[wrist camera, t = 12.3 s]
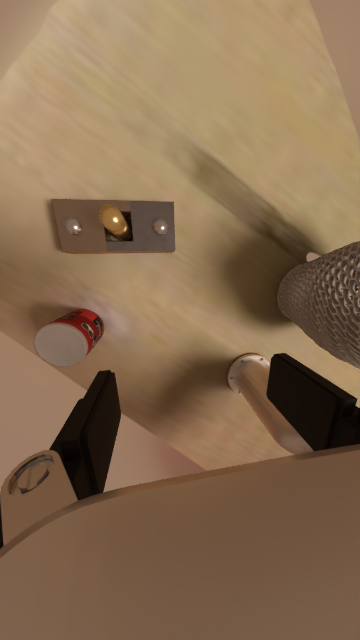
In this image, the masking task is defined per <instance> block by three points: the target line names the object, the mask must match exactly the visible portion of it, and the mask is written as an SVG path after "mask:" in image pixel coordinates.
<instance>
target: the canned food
mask: <svg viewBox="0 0 360 640" xmlns="http://www.w3.org/2000/svg"><path fill="white" fill-rule="evenodd" d="M103 332H104V324H103V321H102V320H101V318H100V317H99V316H98V315H97V314H95V313H94V312H92V311H88V310H76V311H74V312H71V313H69V314H67V315H65V316H63V317H61V318H59V319H57V320H55V321H53V322H51V323H49V324H47V325H45V326H44V327H42V328H41V329H40V330H39V331H38V332H37V333H36V335H35V337H34V347H35V350H36V352H37V354H38V355H39V356H40V357H41V358H42V359H43V360H44V361H46V362H47V363H49V364H51V365H54V366H58V367H70V366H74V365H76V364H78V363H79V362H81V361H82V360H83V359H84V358H85V357H86V355H87V354H88V353H89V352H90V351H91V349H92V348H93V347H94V346H95V344H96V343H97V342H98V341H99V339H100V338H101V337H102V335H103Z"/></svg>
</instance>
